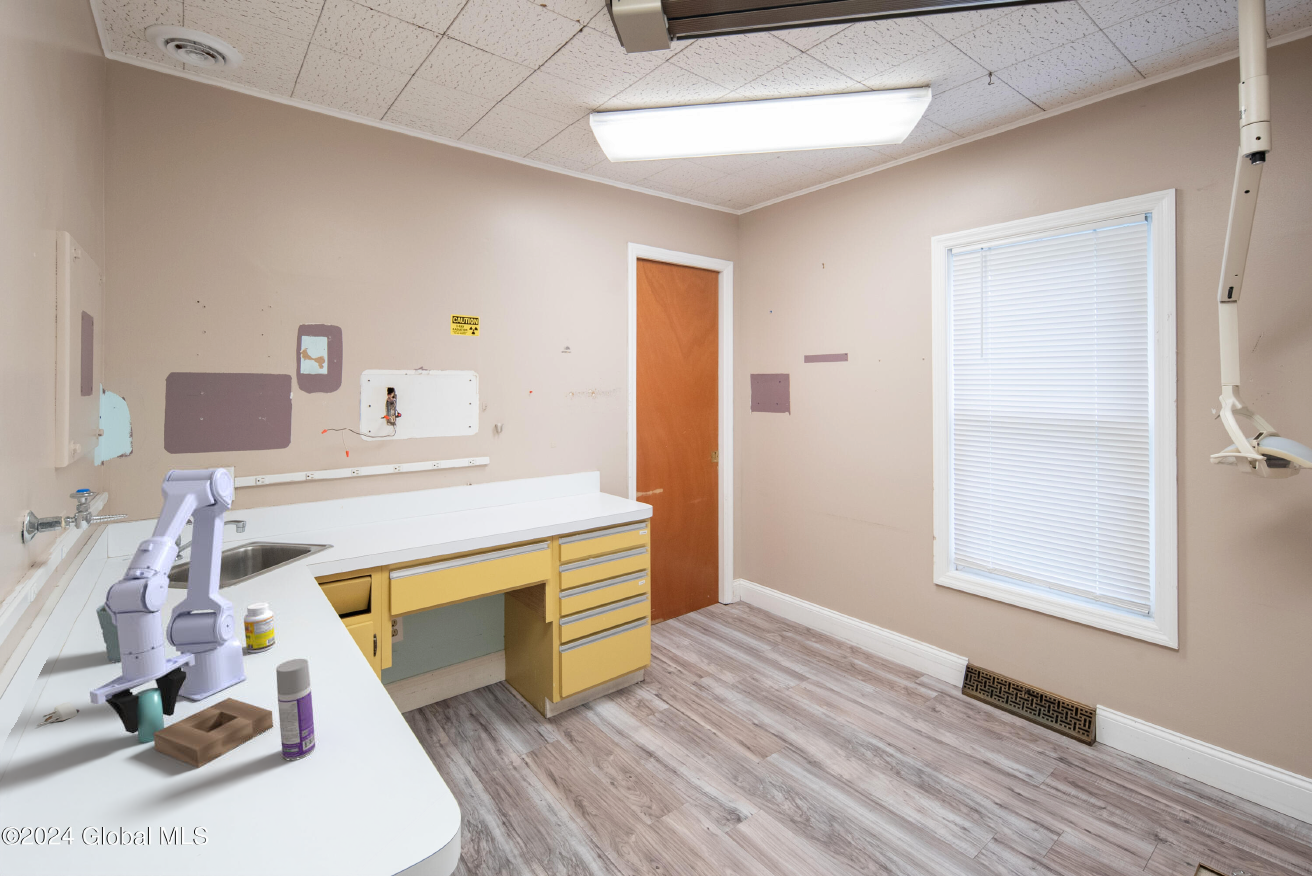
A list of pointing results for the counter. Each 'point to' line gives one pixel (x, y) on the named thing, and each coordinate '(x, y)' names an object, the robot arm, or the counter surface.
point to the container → (295, 709)
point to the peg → (149, 714)
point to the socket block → (212, 731)
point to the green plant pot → (109, 634)
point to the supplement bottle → (259, 628)
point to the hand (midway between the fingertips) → (150, 722)
